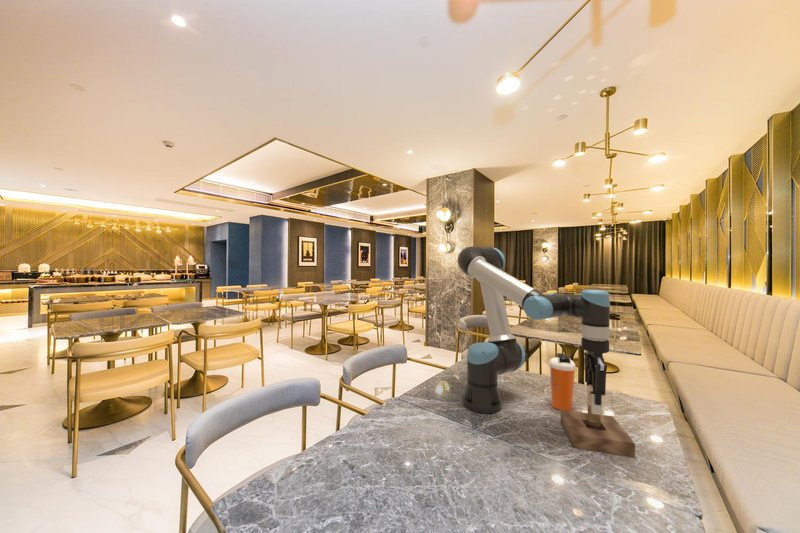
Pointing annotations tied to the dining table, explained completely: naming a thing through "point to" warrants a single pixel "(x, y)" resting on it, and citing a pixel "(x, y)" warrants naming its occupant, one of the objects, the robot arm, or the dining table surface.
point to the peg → (592, 418)
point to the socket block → (597, 434)
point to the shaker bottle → (562, 382)
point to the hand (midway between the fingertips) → (594, 410)
